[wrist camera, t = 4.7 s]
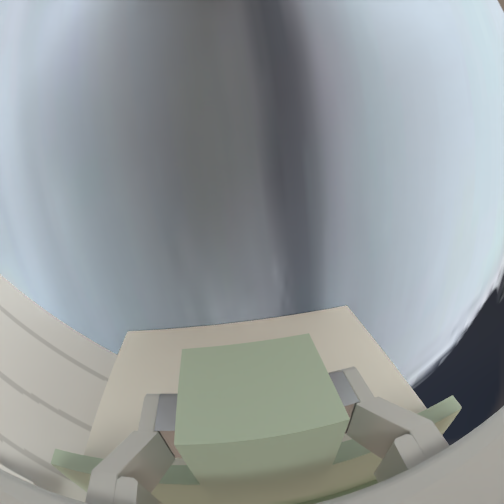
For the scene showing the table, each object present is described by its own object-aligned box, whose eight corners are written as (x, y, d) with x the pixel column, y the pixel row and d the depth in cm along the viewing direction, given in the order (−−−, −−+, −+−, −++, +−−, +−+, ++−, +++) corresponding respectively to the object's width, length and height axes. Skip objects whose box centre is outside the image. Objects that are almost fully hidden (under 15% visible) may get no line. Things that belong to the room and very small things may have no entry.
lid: (6, 346, 7) (-31, 402, 4) (472, 290, 9) (524, 330, 6) (164, 516, 16) (164, 543, 13) (365, 488, 18) (375, 513, 15)
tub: (127, 331, 20) (83, 456, 9) (346, 305, 22) (427, 409, 11) (174, 438, 26) (171, 527, 14) (328, 418, 27) (363, 500, 16)
